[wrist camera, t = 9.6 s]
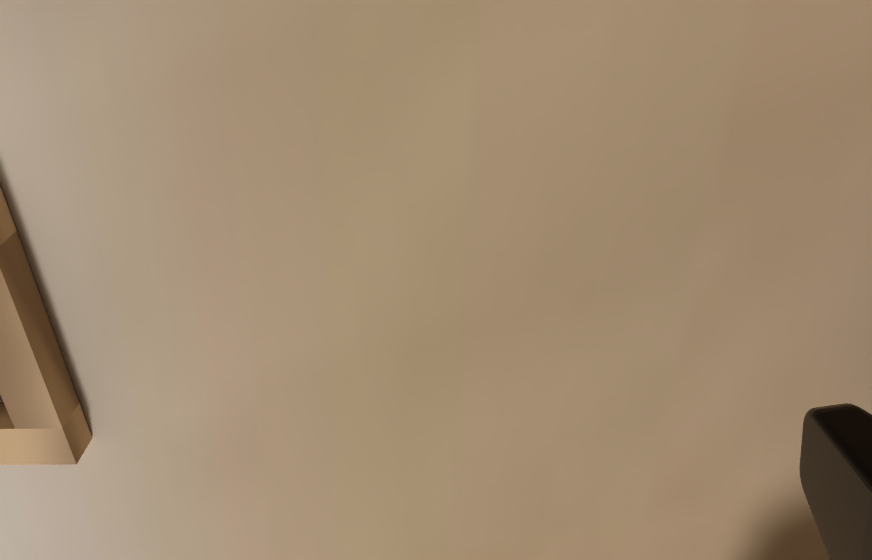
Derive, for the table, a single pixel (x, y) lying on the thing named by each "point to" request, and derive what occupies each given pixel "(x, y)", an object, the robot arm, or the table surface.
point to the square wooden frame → (32, 369)
